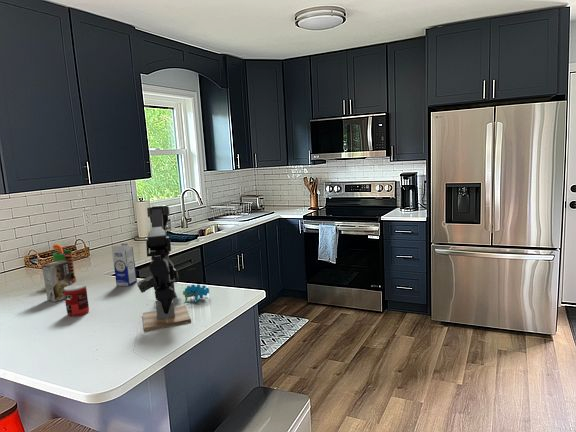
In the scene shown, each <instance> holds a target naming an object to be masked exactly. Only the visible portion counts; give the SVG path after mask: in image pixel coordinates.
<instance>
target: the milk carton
mask: <svg viewBox="0 0 576 432" xmlns="http://www.w3.org/2000/svg"><path fill="white" fill-rule="evenodd" d="M120 244H121V245H111V252H112V259H113V260H112V261H113V269H114V276H115V284H116V287H130V286H132V285H134V284H137V283H138V280H137V272H136V262H135V253H134V246H133V245H129V244H128V243H120Z"/></svg>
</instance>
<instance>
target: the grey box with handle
mask: <svg viewBox="0 0 576 432" xmlns="http://www.w3.org/2000/svg"><path fill="white" fill-rule="evenodd" d="M174 307H175V305H174V299H173V300H172V302H171V305H170V309H169V312H168V314H165V313H164V310H163V307H162V304H161V302H160V301H158V300H155V311H156V312H157V318H158V320H160V319H165V318H170V317H175V312H174Z"/></svg>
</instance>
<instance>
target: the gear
mask: <svg viewBox="0 0 576 432" xmlns="http://www.w3.org/2000/svg"><path fill="white" fill-rule="evenodd" d="M208 294H210V288H209V287H206V285H202V287H201V284H197V285H195V284H191V286H190V285H187V287H186V288H184V290H183V291H182V295H183V296H184V298H185V299H184V300H185V301H184V302H185V303H188V298H191V297H194V299H195V300H194V303H198V302H199V298H202V297H207V296H208Z"/></svg>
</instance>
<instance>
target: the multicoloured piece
mask: <svg viewBox="0 0 576 432" xmlns="http://www.w3.org/2000/svg"><path fill="white" fill-rule="evenodd" d="M52 246H53V248H52V249H53V250H58V251H56V252H53V253H52V260H53V262H56V261H60V260H63V261H69V267H70V273H71V279H72V284H74V283H76V282H77V277H76V276H75V275H76V274H75V267H74V258H73V253H72V250H71V249H70V250H69V249H68V250H67V249H65V250H63V248H62V245H61V244H59V243H56V244H52Z"/></svg>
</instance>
